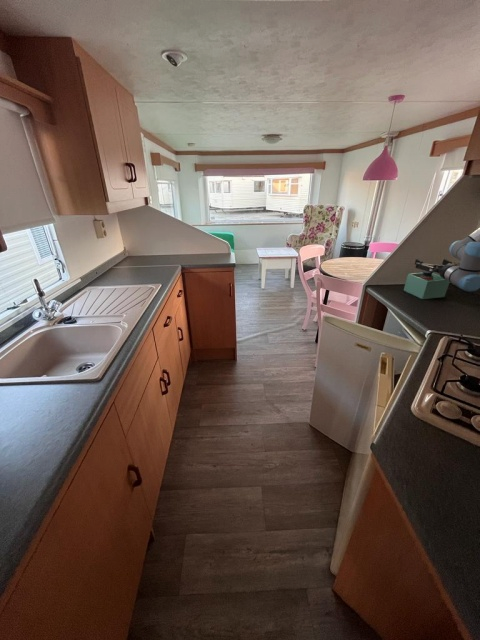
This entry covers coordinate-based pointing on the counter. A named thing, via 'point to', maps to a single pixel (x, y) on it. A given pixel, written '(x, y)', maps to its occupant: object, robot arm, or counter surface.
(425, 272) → the supplement bottle
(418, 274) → the waste bin
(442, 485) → the counter surface
